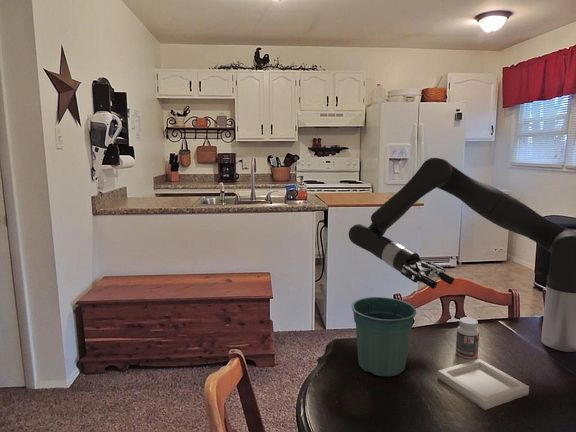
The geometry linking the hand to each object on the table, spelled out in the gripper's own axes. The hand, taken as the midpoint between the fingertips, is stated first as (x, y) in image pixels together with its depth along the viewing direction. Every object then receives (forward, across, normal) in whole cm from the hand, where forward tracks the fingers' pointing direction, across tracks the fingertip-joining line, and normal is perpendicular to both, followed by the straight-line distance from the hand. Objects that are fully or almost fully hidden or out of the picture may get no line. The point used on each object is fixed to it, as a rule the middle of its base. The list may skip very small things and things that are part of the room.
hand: (444, 283), depth 116 cm
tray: (+22, -9, +14) cm, 28 cm away
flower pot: (+2, -21, +21) cm, 29 cm away
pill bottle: (+12, +2, +16) cm, 20 cm away
